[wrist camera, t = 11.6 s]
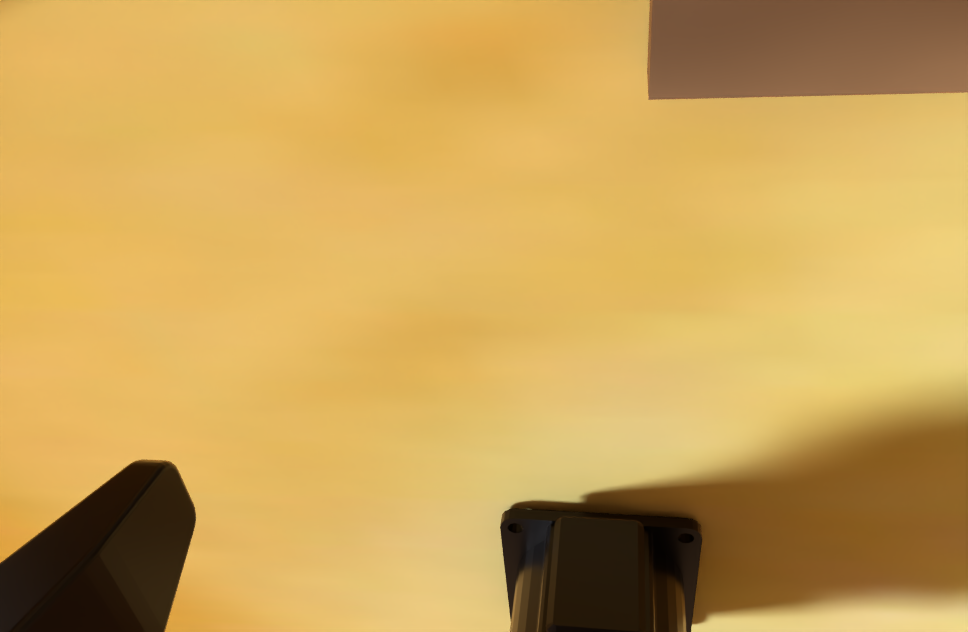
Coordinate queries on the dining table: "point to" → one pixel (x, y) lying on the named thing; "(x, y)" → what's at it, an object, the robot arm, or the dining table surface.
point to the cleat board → (806, 48)
